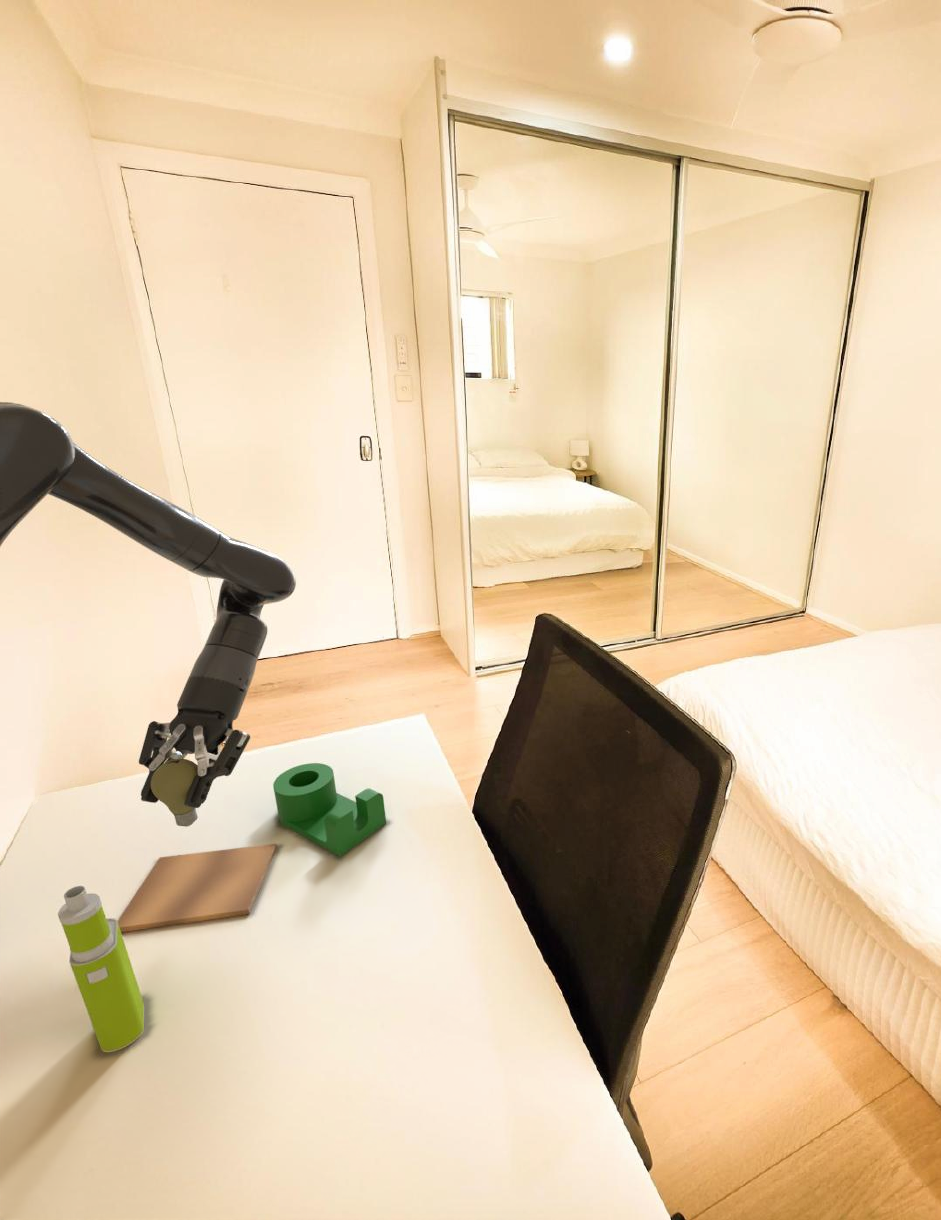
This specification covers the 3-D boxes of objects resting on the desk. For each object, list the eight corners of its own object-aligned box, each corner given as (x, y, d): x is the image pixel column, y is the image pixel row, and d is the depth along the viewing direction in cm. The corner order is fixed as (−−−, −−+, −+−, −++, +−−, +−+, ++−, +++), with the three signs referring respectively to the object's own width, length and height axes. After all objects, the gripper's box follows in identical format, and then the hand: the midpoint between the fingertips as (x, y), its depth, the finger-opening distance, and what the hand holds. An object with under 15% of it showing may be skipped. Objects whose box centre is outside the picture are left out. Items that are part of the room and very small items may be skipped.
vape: (100, 1059, 63) (46, 914, 57) (103, 1014, 68) (54, 874, 61) (144, 1039, 65) (97, 896, 59) (144, 996, 70) (100, 859, 63)
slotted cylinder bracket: (267, 816, 100) (261, 784, 98) (315, 788, 107) (310, 757, 105) (339, 856, 92) (334, 822, 90) (386, 822, 99) (382, 790, 97)
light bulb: (206, 805, 86) (192, 745, 82) (217, 825, 82) (202, 763, 79) (159, 823, 82) (142, 761, 79) (168, 844, 78) (150, 780, 75)
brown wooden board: (113, 933, 78) (112, 928, 78) (160, 861, 90) (159, 857, 90) (249, 914, 81) (248, 909, 81) (277, 847, 93) (276, 843, 93)
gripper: (154, 669, 83) (97, 794, 76) (249, 678, 82) (200, 806, 75) (192, 686, 90) (142, 802, 83) (280, 695, 88) (238, 814, 81)
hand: (170, 803), depth 79 cm, fingers closed on light bulb, 5 cm apart
